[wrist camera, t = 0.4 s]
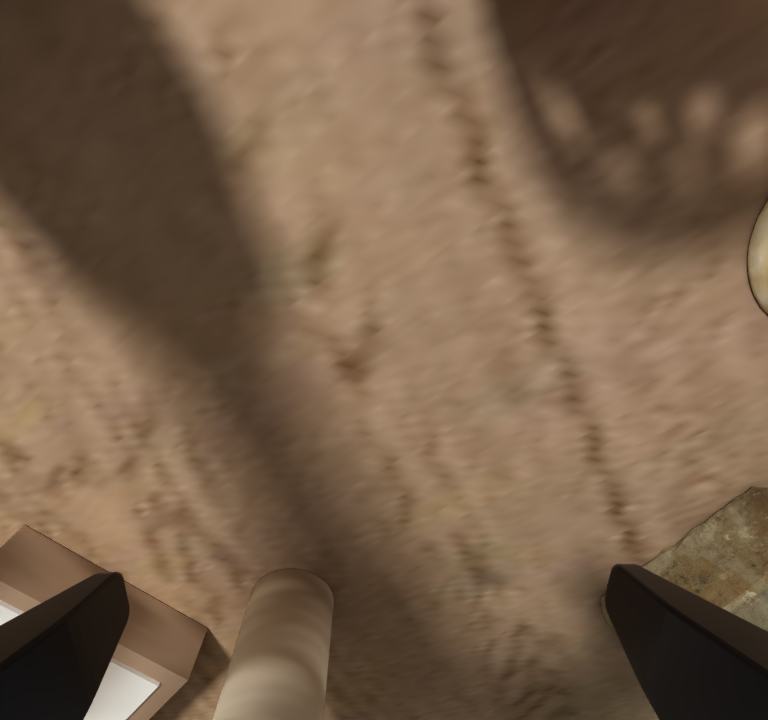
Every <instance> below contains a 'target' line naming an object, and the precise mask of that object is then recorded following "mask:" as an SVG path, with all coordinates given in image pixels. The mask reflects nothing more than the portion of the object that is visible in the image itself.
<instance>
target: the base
mask: <svg viewBox="0 0 768 720" xmlns="http://www.w3.org/2000/svg"><path fill="white" fill-rule="evenodd" d="M99 572H107V571H105V570H104V569H102V568H100V567H98V566H96V565H95V564H93V563H91V562H89V561H88V560H86V559H84V558H82V557H81V556H79V555H77V554H75V553H73V552H72V551H70V550H68V549H66V548H65V547H63V546H61V545H59V544H57V543H56V542H54V541H52V540H50V539H49V538H47V537H45V536H43V535H42V534H40V533H38V532H36V531H34V530H33V529H31V528H29V527H27V526H26V525H24V526H23V527H22V528H21V529H20V530H19V531H18V532H17V533H16V534H15V535H13V536H12V537H11V538H10V539H9V540H8V541H7V542H6V543H5V544H4V545H3V546H2V547H1V548H0V625H2V624H4V623H6V622H7V621H9V620H11V619H13V618H15V617H17V616H18V615H20V614H22V613H24V612H26V611H28V610H29V609H31V608H33V607H35V606H37V605H39V604H40V603H42V602H44V601H46V600H48V599H50V598H51V597H53V596H55V595H57V594H59V593H60V592H62V591H64V590H66V589H68V588H70V587H71V586H73V585H75V584H77V583H79V582H81V581H82V580H84V579H86V578H88V577H90V576H92V575H93V574H96V573H99ZM124 582H125V581H124ZM125 587H126V592H127V596H128V601H129V606H130V613H129V618H128V622H127V624H126V627H125V629H124V631H123V634H122V636H121V638H120V641H119V643H118V645H117V648H116V650H115V652H114V654H113V657H112V659H111V661H110V664H109V666H108V668H107V671H106V673H105V675H104V678H103V680H102V682H101V684H100V687H99V689H98V691H97V693H96V696H95V698H94V700H93V702H92V704H91V706H90V708H89V710H88V712H87V714H86V716H85V718H84V720H149V719H150V718H151V717H152V716H153V715H154V714H155V713H156V712H157V711H158V710H159V709H160V708H161V707H162V706H163V705H164V704H165V703H166V702H167V701H168V700H169V699H170V698H171V697H172V696H173V695H174V694H175V693H176V692H177V691H178V690H179V689H180V688H181V687H182V686H183V685H184V684H185V683H186V682H187V681H188V679H189V677H190V674H191V671H192V669H193V666H194V663H195V661H196V658H197V655H198V653H199V650H200V647H201V645H202V642H203V639H204V637H205V634H206V631H207V629H208V628H206V627H204V626H203V625H201V624H199V623H197V622H196V621H194V620H192V619H190V618H189V617H187V616H185V615H183V614H181V613H180V612H178V611H176V610H174V609H173V608H171V607H169V606H167V605H166V604H164V603H162V602H160V601H158V600H157V599H155V598H153V597H151V596H150V595H148V594H146V593H144V592H142V591H141V590H139V589H137V588H135V587H134V586H132V585H130V584H128V583H127V582H125Z"/></svg>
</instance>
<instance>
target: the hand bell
mask: <svg viewBox="0 0 768 720" xmlns="http://www.w3.org/2000/svg"><path fill="white" fill-rule="evenodd" d="M748 275H749V280H750V286H751V288H752V291H753V294H754V296H755V298H756V299H757V301H758V303H759V305H760V307H761V308H762V309H763V310H764V311H765V312H766V313H768V201H767V203H766V204H765V206H764V208H763V209H762V211H761V213H760V215H759V217H758V219H757V222H756V224H755V227H754V230H753V233H752V236H751V239H750V245H749V249H748Z"/></svg>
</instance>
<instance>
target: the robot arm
mask: <svg viewBox="0 0 768 720" xmlns="http://www.w3.org/2000/svg"><path fill="white" fill-rule="evenodd" d="M605 607H606V611H607V613H608V616H609V618H610V620H611V622H612V625H613V627H614V629H615V631H616V633H617V636H618V638H619V640H620V642H621V644H622V646H623V649H624V651H625V653H626V655H627V657H628V660H629V662H630V664H631V666H632V668H633V670H634V673H635V675H636V677H637V679H638V681H639V683H640V685H641V687H642V689H643V691H644V693H645V695H646V696H647V698H648V700H649V702H650V704H651V706H652V707H653V709H654V711H655V712H656V714H657V716H658V718H659V719H660V720H768V631H766V630H764V629H762V628H760V627H758V626H756V625H754V624H752V623H750V622H748V621H746V620H744V619H742V618H740V617H739V616H737V615H735V614H733V613H731V612H729V611H727V610H725V609H723V608H721V607H719V606H717V605H715V604H713V603H711V602H709V601H707V600H705V599H703V598H701V597H699V596H697V595H695V594H694V593H692V592H690V591H688V590H686V589H684V588H682V587H680V586H678V585H676V584H674V583H672V582H670V581H668V580H666V579H664V578H662V577H660V576H658V575H656V574H654V573H652V572H651V571H649V570H647V569H645V568H643V567H641V566H639V565H636V564H616V565H614V566H613V567H612V570H611V573H610V577H609V581H608V585H607V590H606V594H605ZM129 613H130V606H129V601H128V596H127V592H126V587H125V582H124V578H123V576H122V574H121V573H119V572H99V573H96V574H93V575H92V576H90V577H88V578H86V579H84V580H82V581H81V582H79V583H77V584H75V585H73V586H71V587H70V588H68V589H66V590H64V591H62V592H60V593H59V594H57V595H55V596H53V597H51V598H50V599H48V600H46V601H44V602H42V603H40V604H39V605H37V606H35V607H33V608H31V609H29V610H28V611H26V612H24V613H22V614H20V615H18V616H17V617H15V618H13V619H11V620H9V621H7V622H6V623H4V624H2V625H0V720H84V718H85V716H86V714H87V712H88V710H89V708H90V706H91V704H92V702H93V700H94V698H95V696H96V693H97V691H98V689H99V687H100V684H101V682H102V680H103V678H104V675H105V673H106V671H107V668H108V666H109V664H110V661H111V659H112V657H113V654H114V652H115V650H116V648H117V645H118V643H119V641H120V638H121V636H122V634H123V631H124V629H125V627H126V624H127V622H128V618H129Z"/></svg>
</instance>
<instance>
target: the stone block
mask: <svg viewBox="0 0 768 720" xmlns="http://www.w3.org/2000/svg"><path fill="white" fill-rule="evenodd" d="M641 567H643V568H645V569H647V570H649V571H651V572H652V573H654V574H656V575H658V576H660V577H662V578H664V579H666V580H668V581H670V582H672V583H674V584H676V585H678V586H680V587H682V588H684V589H686V590H688V591H690V592H692V593H694V594H695V595H697V596H699V597H701V598H703V599H705V600H707V601H709V602H711V603H713V604H715V605H717V606H719V607H721V608H723V609H725V610H727V611H729V612H731V613H733V614H735V615H737V616H739V617H740V618H742V619H744V620H746V621H748V622H750V623H752V624H754V625H756V626H758V627H760V628H762V629H764V630H766V631H768V488H760V487H753V486H752V487H751V488H750V489H749V490H748V491H747V492H746V493H744V494H742V495H740V496H738V497H737V498H735V499H734V500H732V501H731V502H730V503H729V504H727V505H726V506H725V507H724V508H722V509H721V510H720V511H718V512H717V513H715V514H714V515H713V516H712V517H710V518H709V519H708V520H707V521H705V522H704V523H702V524H700V525H698V526H696V527H694V528H693V529H692V530H691V531H690V532H689V533H688V534H687V535H686V536H685V537H684V538H683V539H681V540H680V541H679V542H678V543H677V544H675V545H673V546H670V547H667V548H665V549H663V550H662V551H661V552H660V553H659V554H658V555H657V556H656V557H655V558H654V559H652V560H651V561H649V562H648V563H646V564H645V565H643V566H641ZM600 600H601V608H602V612H603V615H604V618H605V620H606V622H607V623H608V624H609V625H610V626H611V627H612V629H613V630H614V632H615V633H616V631H615V629H614V627H613V625H612V622H611V620H610V618H609V616H608V613H607V611H606V607H605V595H604V596H603V597H602V598H601V599H600ZM616 635H617V633H616Z"/></svg>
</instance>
